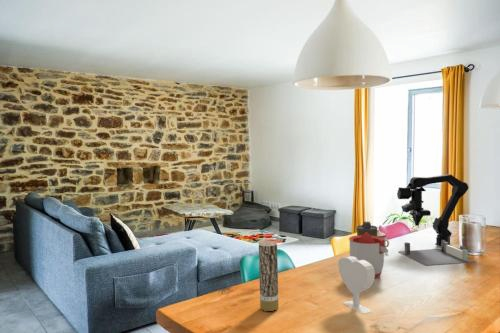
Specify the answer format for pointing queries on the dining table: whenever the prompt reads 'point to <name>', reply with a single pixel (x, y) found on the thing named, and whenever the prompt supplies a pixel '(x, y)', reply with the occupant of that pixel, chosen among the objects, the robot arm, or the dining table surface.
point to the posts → (407, 247)
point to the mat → (434, 257)
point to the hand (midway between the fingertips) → (416, 225)
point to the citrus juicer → (369, 250)
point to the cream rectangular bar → (456, 252)
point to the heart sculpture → (356, 279)
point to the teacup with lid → (382, 235)
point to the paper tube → (268, 275)
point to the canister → (367, 229)
